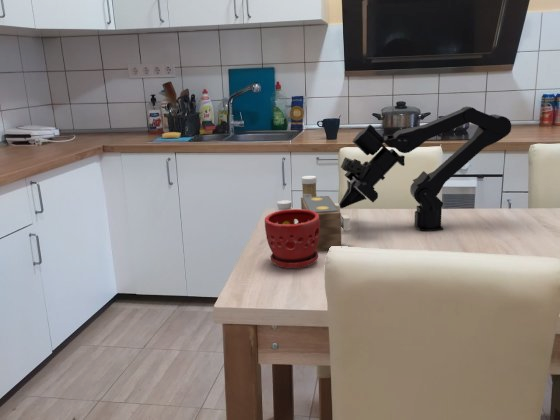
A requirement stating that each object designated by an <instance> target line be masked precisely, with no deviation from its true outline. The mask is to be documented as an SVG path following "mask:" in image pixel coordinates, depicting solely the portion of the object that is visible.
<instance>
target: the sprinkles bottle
mask: <svg viewBox="0 0 560 420" xmlns="http://www.w3.org/2000/svg"><path fill="white" fill-rule="evenodd" d="M317 182H318V180H317V176H315V175H303V176H302V177H301V185H302V187H301V188H302V193H301V194H302V198H303V197H317Z"/></svg>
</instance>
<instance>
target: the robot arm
mask: <svg viewBox="0 0 560 420" xmlns="http://www.w3.org/2000/svg"><path fill="white" fill-rule="evenodd" d="M468 123H470V124H473V125H475V126H478V127H477V128H476V130H475V131H474V133H473V135H472V136H471V138H469V139H468V140H467V141H466V142H465V143H464V144H462V146H461V147H459V148H458V149H457V150H456V151H455V152H454V153H452V155H450V156H449V157H448V158H447V159H446V160H445V161H443V162H442V163H441V164H440V165H439V166H438V167H437V168H436V169H435V170H433V171H432V172H430V173H427V172H426V171H424V170H423V171H422V172H421V173H420V174H419V175H418V177H416V178H414V179H412V184H411V185H410V189H409V191H410V195H411V196H412V198H413V199H414V200H415V201H416V203H418V204H419V205H416V210H415V211H414V223H413V224H414V225H413V226H415V227H416V228H417V229H418V230H419V231H422V232H423V231H440V230H444V227H443V226H442V212H443V211H442V208H443V206H444V202H443V201H442V200H441V199H440V198H439V197H438V195H439V194H440V193H441V190H442V188H443V187H444V185H445V184H446V183H447V182H448V180H450V179H451V178H452V177H453V176H454V175H456V173H458V172H459V171H460V170H461V169H462V168H463V167H465V165H466V164H468V163H469V162H470V161H471V160H473V158H474V157H476V156H477V155H478V154H480V152H481V151H482V150H484V149H485V148H487V147H489V146H491V145H493V144H496V143H497V142H500V141H501V140H502V139H504V138H506V137H507V136H509V134H510V133H511V132H512V122H511V121H510V119H509V118H507V117H506V116H503V115H499V114H487V113H486V112H482V111H481V110H480V111H479V110H477V109H476V108H474V107H471V106H467V105H466V106H463V107H461V108H459V109H458V110H456V111H453V112H451V113H449V114H447V115H444V116H442V117H439V118H436V119H434V120H432V121H429V122H428V123H425V124H422V125H418V126H411V127H408V128H403V129H398V130H397V131H395V132H394V133H393V134H388V135H385V136H382V135H381V134H380V133H379V132H378V131H377V130H376V129H375V128H374V126H373V125H372V124H369V125H367V126H366V127H365V128H364V129H362V130H361V131H359V132H358V133H357V134H356V136H355V137H354V138H353V139H352V143H353V144H354V145H355V146H356V147H357V148H358V149H359V150H360V151H361V152H363V154H365V155H366V156H369V155H371V156H373V157H372V158H371V159H370V160H369V161H364V162H363V163H361V161H360V160H358V159H356V158H354V159H353V160H352V159H351V158H349V157H344V159H343V161H342V163H341V165H340V168H341V169H342V171H344V172H346V173H345V174H344V176H345V178H347V179H348V180H346V183H347V184H346V185H347V189H346V191H345V193H344V195H343V197H342V198H341V200H340V202H339V203H338V204H339V205H340V209H343V208H346V207H349V206H350V205H354V204H356V203H359V202H361V201H365V200H369V201H370V202H371V203H374V202H376V200H377V199H378V197H379V193H378V192H377V191H376V190H375V189H376V188H375V186H376V184H378V182H380V180H381V181H384V180H385V178H386V177H385V176H386V174H387V173H388V172H389V171H390V170H391V169H392V168H394V166H395V165H396V164H397V163H398V164H399V165H400V166H403V167H405V158H406V157H405V155H400V154H399V153H398V152H400V153H402V154H408V153H410V152H412V151H414V150H416V149H417V148H419V147H421V146H422V145H424V143H425V142H426V141H428V140H429V139H432V138H434V137H436V136H439V135H442V134H444V133H447V132H449V131H451V130H453V129H457V128H458V127H461V126H463V125H465V124H468ZM385 144H386V146H387V147H388V148H387V147H386V146H385ZM389 148H392V149H389ZM395 149H396V150H395ZM397 151H398V152H397Z"/></svg>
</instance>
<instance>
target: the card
mask: <svg viewBox="0 0 560 420" xmlns="http://www.w3.org/2000/svg"><path fill="white" fill-rule="evenodd" d="M328 196H329V195H324V196H323V197H320V196H316V197H307V198H303V197H302V198H303V199H304V201H305V203H306V205H307V207H308V209H309V210H310V211H314V212H316V213H324V212H338V210H337V209H336V207H335V206H334V204H333V203H334V202H333V203H332V202H331V200H332V199H331V198H330V199H331V200H330V199H329V197H330V196H329V197H328Z"/></svg>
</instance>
